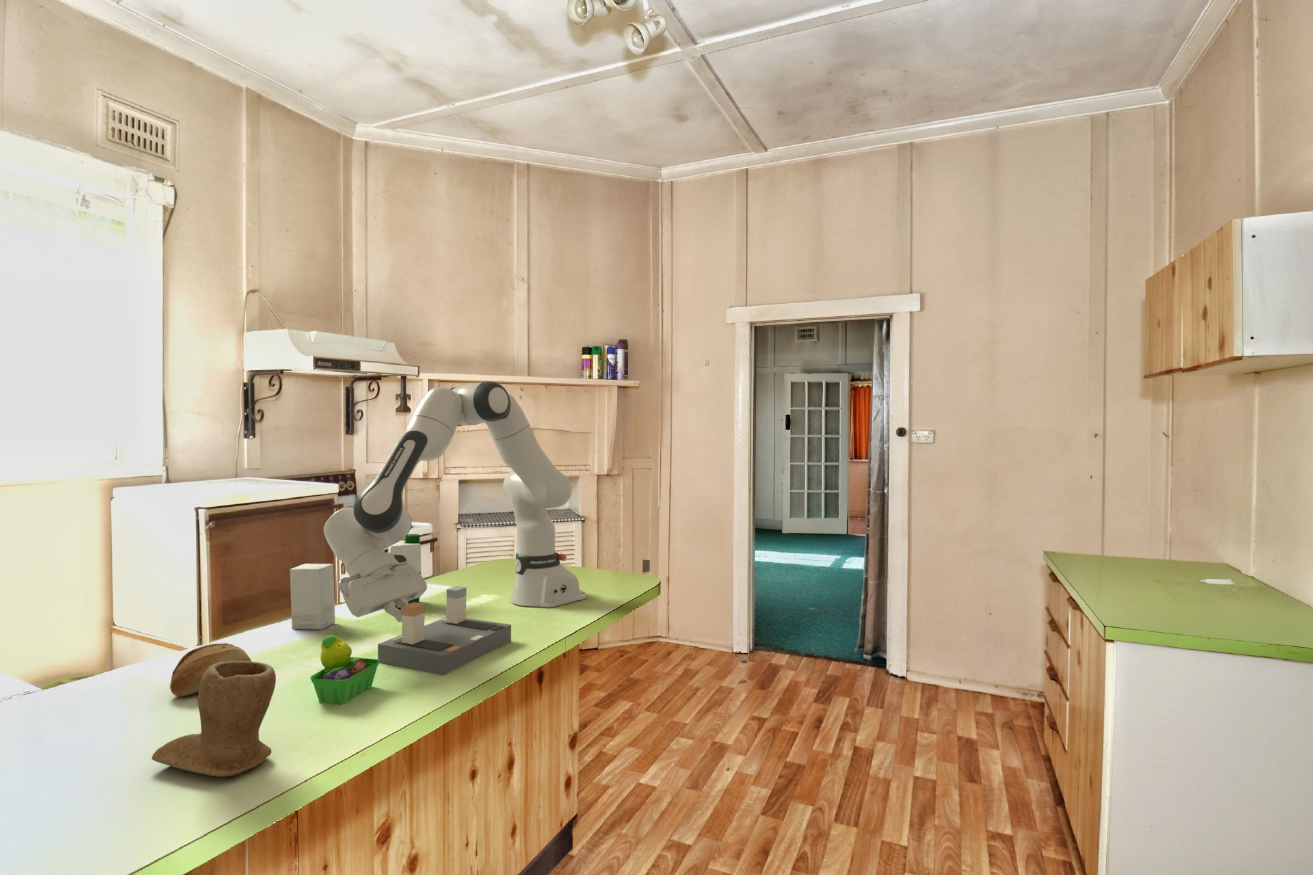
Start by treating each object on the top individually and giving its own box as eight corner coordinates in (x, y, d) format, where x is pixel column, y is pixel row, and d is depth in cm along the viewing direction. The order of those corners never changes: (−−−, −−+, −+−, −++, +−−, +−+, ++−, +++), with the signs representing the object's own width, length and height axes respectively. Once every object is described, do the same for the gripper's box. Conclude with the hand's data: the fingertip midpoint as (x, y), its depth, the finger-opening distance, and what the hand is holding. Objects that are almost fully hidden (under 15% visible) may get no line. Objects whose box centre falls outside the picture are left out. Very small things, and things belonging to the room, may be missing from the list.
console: (450, 631, 169) (450, 612, 169) (511, 640, 162) (511, 621, 162) (377, 662, 147) (377, 640, 147) (444, 674, 140) (444, 651, 140)
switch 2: (456, 618, 166) (456, 586, 166) (466, 619, 165) (466, 587, 164) (446, 622, 162) (446, 589, 162) (456, 623, 161) (456, 590, 161)
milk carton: (422, 607, 191) (422, 537, 190) (388, 610, 187) (388, 538, 186) (419, 599, 199) (419, 532, 198) (386, 602, 195) (386, 534, 194)
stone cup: (293, 752, 107) (293, 658, 106) (222, 791, 95) (223, 686, 95) (223, 736, 112) (223, 647, 111) (148, 771, 100) (148, 671, 100)
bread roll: (155, 696, 128) (155, 654, 128) (232, 670, 141) (232, 632, 141) (187, 705, 124) (187, 662, 124) (263, 677, 138) (263, 639, 137)
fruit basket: (344, 708, 123) (344, 647, 123) (302, 703, 125) (302, 643, 125) (381, 684, 135) (381, 628, 134) (342, 680, 136) (342, 625, 136)
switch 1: (413, 637, 150) (413, 602, 150) (424, 639, 149) (424, 603, 149) (401, 642, 147) (402, 606, 147) (412, 644, 146) (413, 607, 146)
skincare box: (335, 623, 175) (335, 563, 174) (320, 630, 168) (320, 568, 168) (305, 621, 176) (305, 562, 175) (289, 629, 169) (289, 567, 169)
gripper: (342, 571, 142) (377, 622, 138) (411, 554, 161) (444, 599, 157) (326, 589, 144) (361, 641, 140) (397, 570, 163) (429, 615, 159)
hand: (405, 618), depth 149 cm, fingers closed, pressing on switch 1
